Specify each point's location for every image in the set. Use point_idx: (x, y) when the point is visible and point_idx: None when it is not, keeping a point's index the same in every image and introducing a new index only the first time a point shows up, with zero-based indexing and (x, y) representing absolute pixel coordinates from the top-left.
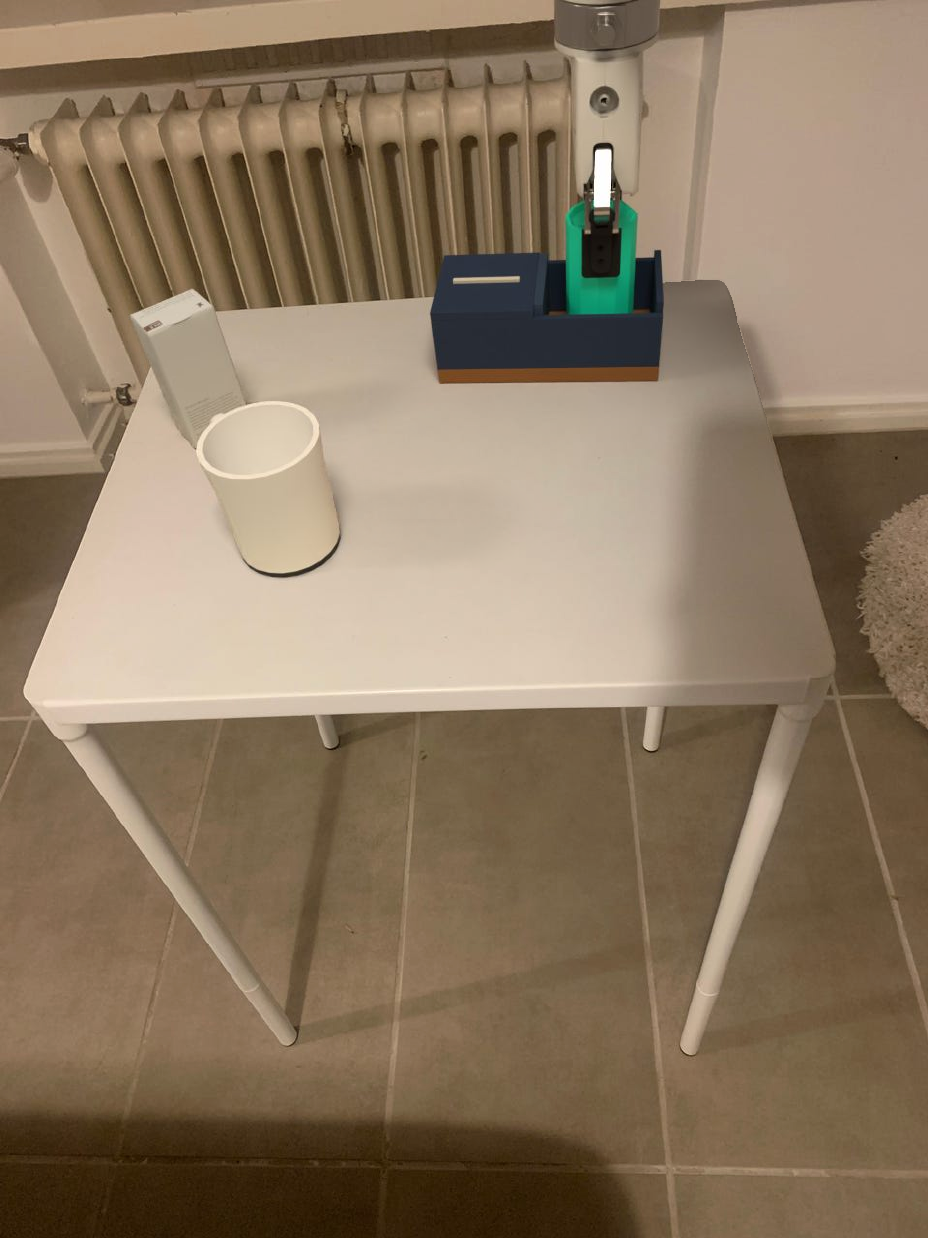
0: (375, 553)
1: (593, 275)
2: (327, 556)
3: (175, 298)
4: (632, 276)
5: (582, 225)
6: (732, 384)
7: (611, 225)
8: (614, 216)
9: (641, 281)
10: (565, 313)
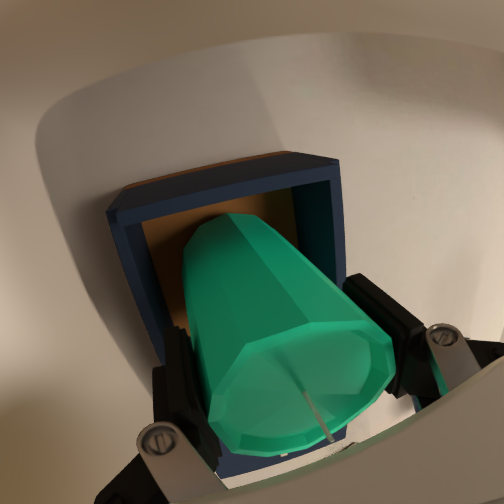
0: (466, 317)
1: None
2: (467, 338)
3: None
4: (270, 246)
5: (330, 409)
6: (278, 52)
7: (494, 342)
8: (498, 351)
9: (134, 229)
10: (177, 318)
